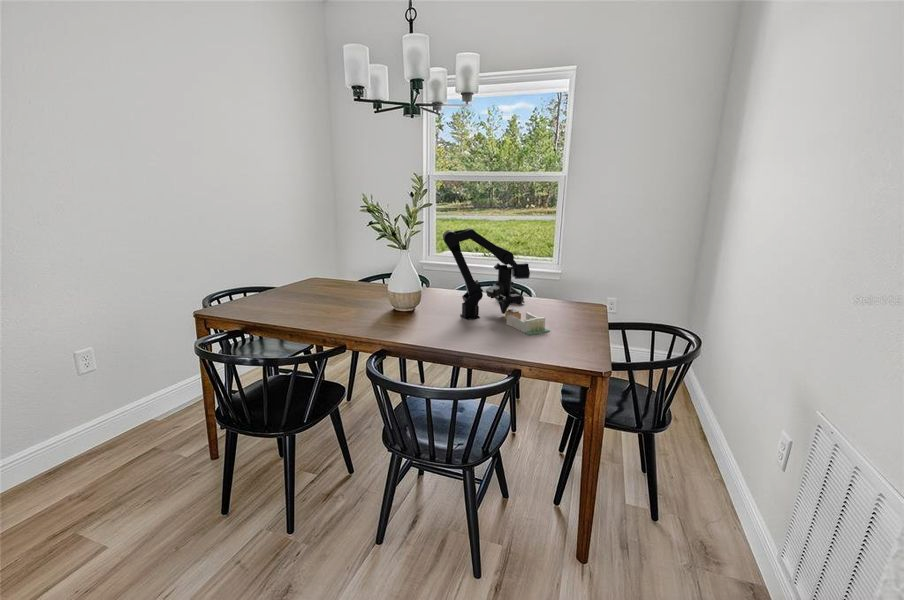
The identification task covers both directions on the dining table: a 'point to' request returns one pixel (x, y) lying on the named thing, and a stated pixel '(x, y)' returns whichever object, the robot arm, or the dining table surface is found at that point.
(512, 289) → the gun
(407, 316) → the dining table surface
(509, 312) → the orange base grey top
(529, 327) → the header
